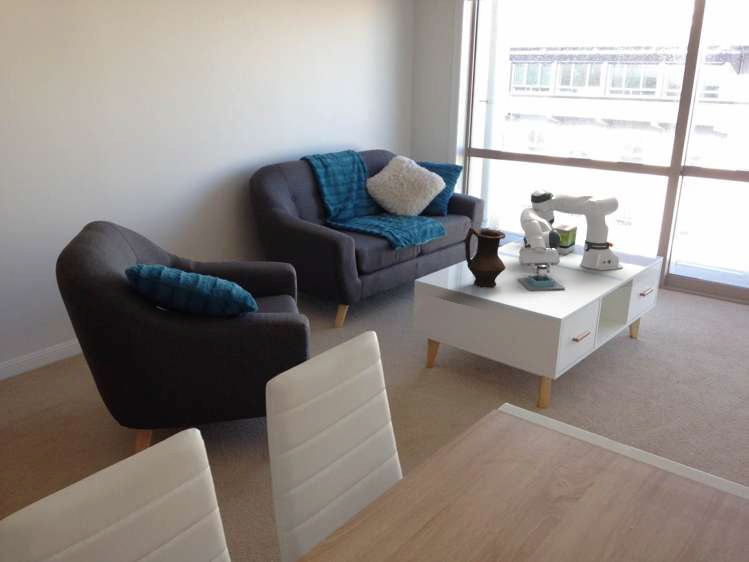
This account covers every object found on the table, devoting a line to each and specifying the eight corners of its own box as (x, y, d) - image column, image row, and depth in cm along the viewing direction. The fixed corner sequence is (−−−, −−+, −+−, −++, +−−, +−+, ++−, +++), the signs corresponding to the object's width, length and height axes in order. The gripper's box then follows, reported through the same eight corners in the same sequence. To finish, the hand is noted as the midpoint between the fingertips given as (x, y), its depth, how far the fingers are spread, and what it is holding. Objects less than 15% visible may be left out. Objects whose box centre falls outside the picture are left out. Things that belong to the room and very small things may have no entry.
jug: (493, 278, 340) (497, 221, 331) (510, 288, 323) (514, 229, 314) (456, 280, 335) (459, 223, 326) (470, 291, 318) (474, 231, 309)
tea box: (567, 254, 389) (569, 230, 384) (550, 252, 394) (553, 228, 390) (574, 249, 401) (577, 225, 397) (558, 247, 406) (561, 223, 402)
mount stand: (551, 279, 339) (551, 273, 338) (564, 290, 322) (565, 283, 321) (517, 280, 337) (517, 273, 336) (529, 291, 320) (529, 284, 319)
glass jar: (544, 279, 331) (545, 263, 329) (547, 281, 326) (549, 266, 324) (534, 279, 331) (535, 264, 328) (537, 282, 326) (539, 266, 323)
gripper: (554, 251, 337) (559, 274, 331) (516, 252, 335) (520, 275, 328) (558, 245, 332) (564, 268, 325) (519, 245, 329) (524, 269, 323)
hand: (542, 272), depth 327 cm, fingers open, 5 cm apart
